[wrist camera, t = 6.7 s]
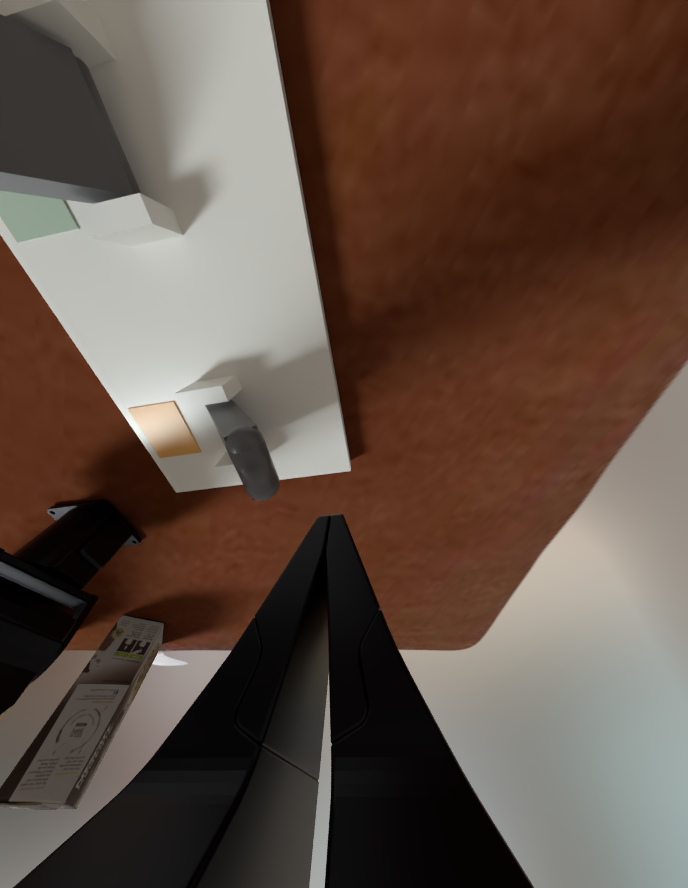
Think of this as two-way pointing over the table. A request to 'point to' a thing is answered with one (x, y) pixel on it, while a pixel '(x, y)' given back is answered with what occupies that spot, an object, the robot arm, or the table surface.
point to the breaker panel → (170, 222)
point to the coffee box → (84, 721)
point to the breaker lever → (246, 450)
